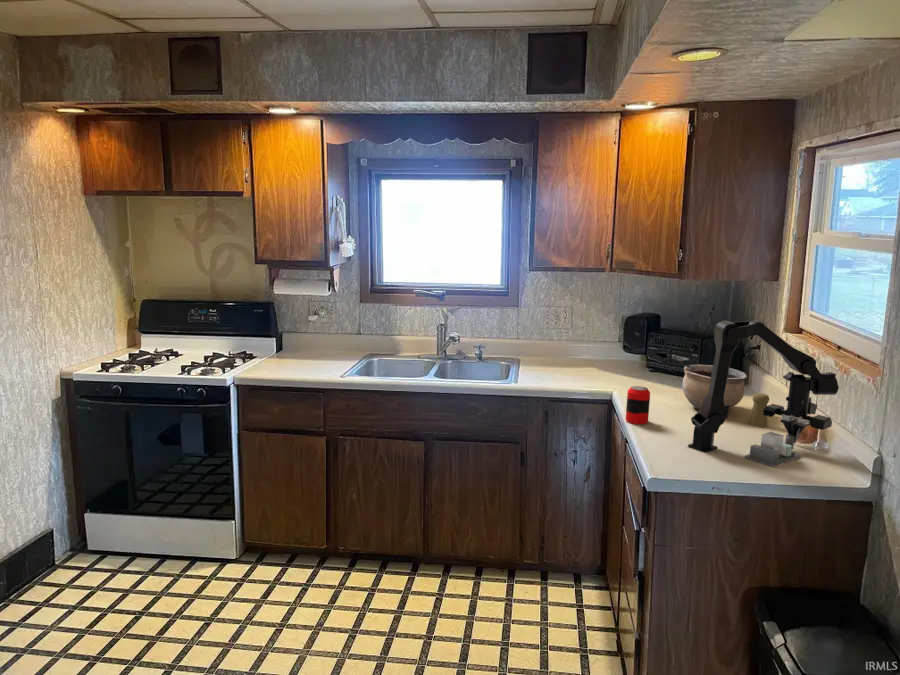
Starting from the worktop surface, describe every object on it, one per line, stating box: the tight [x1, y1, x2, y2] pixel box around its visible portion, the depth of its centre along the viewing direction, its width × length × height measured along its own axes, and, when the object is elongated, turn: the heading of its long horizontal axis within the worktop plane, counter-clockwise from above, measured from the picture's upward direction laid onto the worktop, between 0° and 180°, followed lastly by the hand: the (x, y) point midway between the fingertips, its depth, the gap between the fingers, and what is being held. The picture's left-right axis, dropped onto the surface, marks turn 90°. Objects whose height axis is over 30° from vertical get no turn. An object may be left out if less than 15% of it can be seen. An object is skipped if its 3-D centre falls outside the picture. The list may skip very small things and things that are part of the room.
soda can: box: [625, 385, 651, 426], centre depth 237 cm, size 8×8×12 cm
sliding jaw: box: [782, 433, 795, 457], centre depth 208 cm, size 9×7×4 cm
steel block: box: [760, 431, 785, 458], centre depth 203 cm, size 5×4×6 cm
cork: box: [748, 392, 770, 428], centre depth 236 cm, size 6×6×11 cm
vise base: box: [744, 444, 801, 468], centre depth 204 cm, size 15×9×4 cm, turn 127°
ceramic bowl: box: [682, 364, 748, 410], centre depth 253 cm, size 22×22×15 cm
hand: (793, 442), depth 212 cm, fingers closed, pressing on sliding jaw
